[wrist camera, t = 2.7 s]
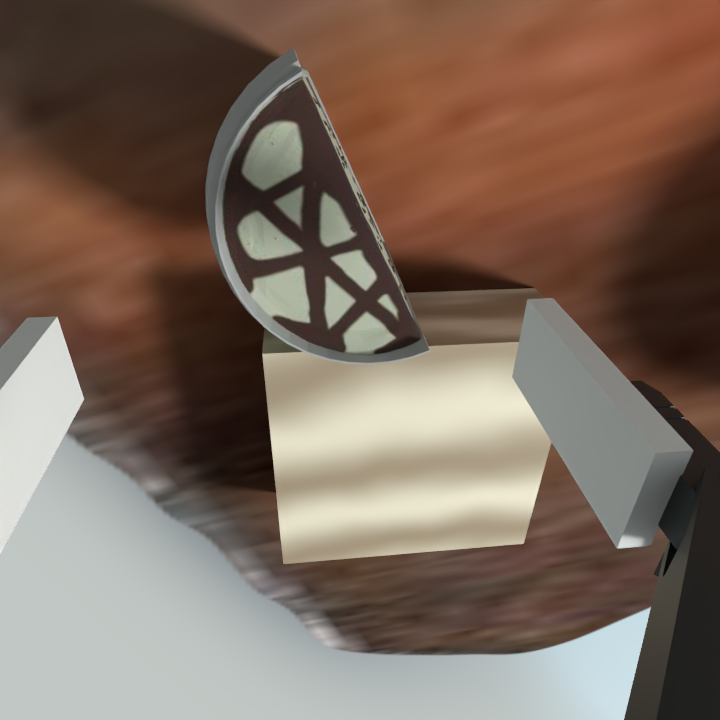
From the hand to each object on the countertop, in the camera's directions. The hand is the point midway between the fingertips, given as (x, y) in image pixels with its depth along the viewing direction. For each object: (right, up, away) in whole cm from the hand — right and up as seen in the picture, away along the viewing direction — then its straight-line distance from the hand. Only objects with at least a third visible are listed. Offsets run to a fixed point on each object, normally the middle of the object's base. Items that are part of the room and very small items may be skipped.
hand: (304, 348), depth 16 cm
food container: (-2, +8, +12) cm, 15 cm away
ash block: (+4, -3, +21) cm, 21 cm away
